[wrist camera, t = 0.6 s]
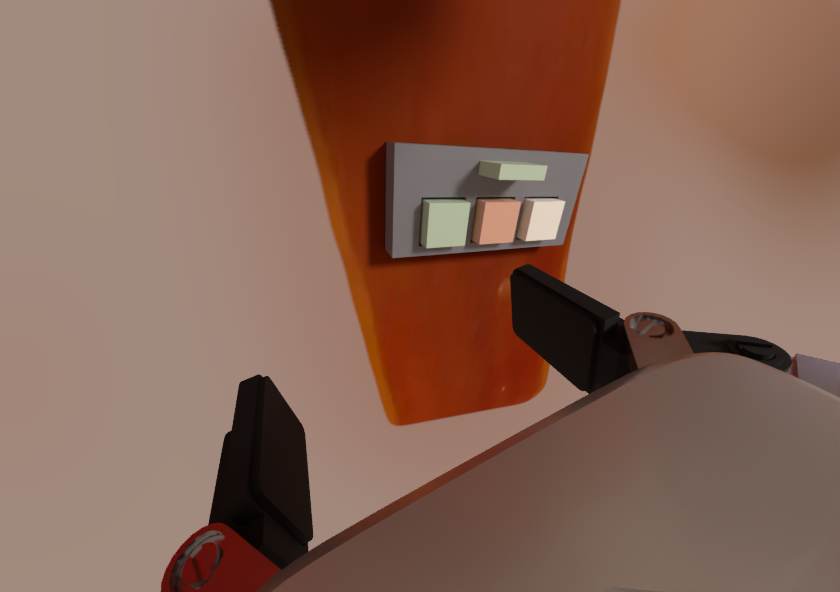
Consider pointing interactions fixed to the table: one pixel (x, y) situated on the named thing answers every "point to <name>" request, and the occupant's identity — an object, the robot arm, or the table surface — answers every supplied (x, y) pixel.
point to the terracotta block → (495, 220)
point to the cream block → (540, 218)
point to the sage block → (443, 222)
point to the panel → (472, 188)
